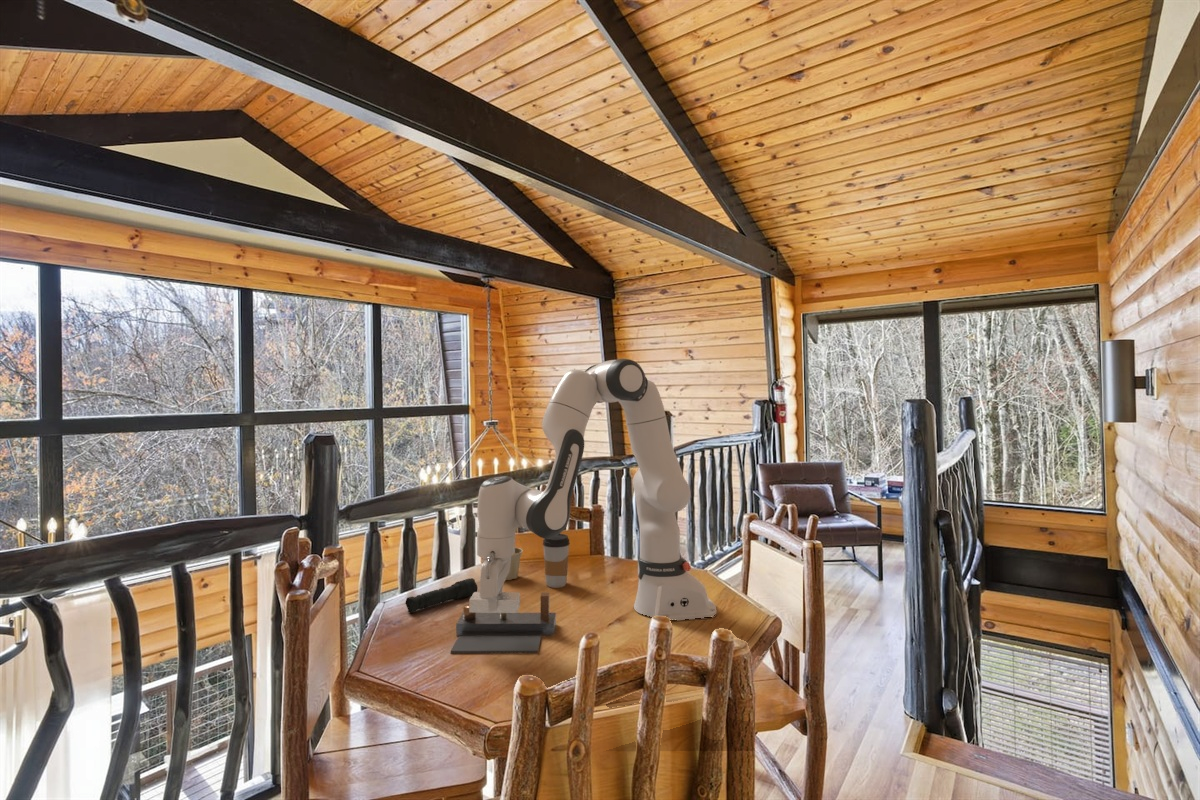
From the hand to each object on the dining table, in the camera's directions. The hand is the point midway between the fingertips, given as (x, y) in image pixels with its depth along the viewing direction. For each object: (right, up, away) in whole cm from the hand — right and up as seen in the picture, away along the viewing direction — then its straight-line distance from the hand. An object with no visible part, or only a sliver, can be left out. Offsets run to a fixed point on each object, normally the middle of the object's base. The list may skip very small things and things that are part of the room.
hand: (495, 604), depth 136 cm
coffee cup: (+11, -9, +44) cm, 46 cm away
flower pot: (-5, -9, +51) cm, 52 cm away
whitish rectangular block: (0, -1, 0) cm, 1 cm away
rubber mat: (0, -10, +1) cm, 10 cm away
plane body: (+1, -10, +10) cm, 14 cm away
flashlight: (-20, -10, +28) cm, 36 cm away
